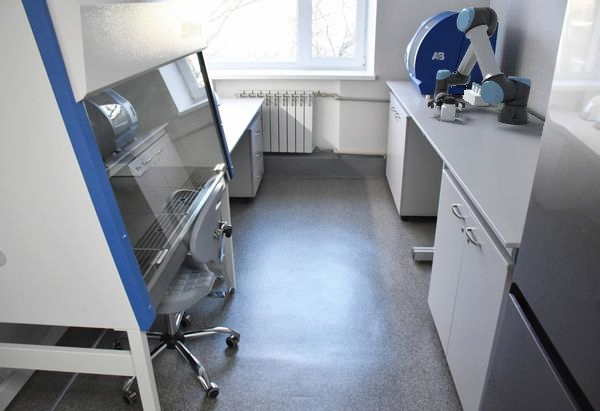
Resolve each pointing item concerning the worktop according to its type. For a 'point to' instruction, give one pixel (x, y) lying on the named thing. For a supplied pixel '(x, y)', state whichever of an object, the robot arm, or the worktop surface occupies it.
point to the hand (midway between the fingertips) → (448, 107)
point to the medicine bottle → (448, 109)
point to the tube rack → (474, 96)
